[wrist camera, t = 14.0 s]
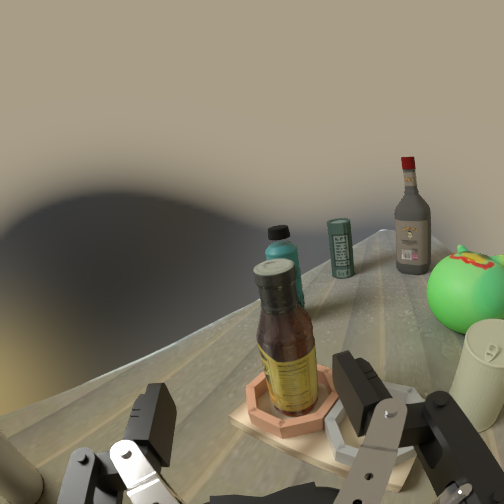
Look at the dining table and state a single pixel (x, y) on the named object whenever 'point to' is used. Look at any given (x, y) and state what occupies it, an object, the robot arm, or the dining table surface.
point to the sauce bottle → (285, 340)
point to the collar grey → (349, 453)
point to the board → (313, 440)
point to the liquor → (412, 226)
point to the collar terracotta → (292, 425)
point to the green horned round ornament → (467, 289)
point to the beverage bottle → (285, 254)
